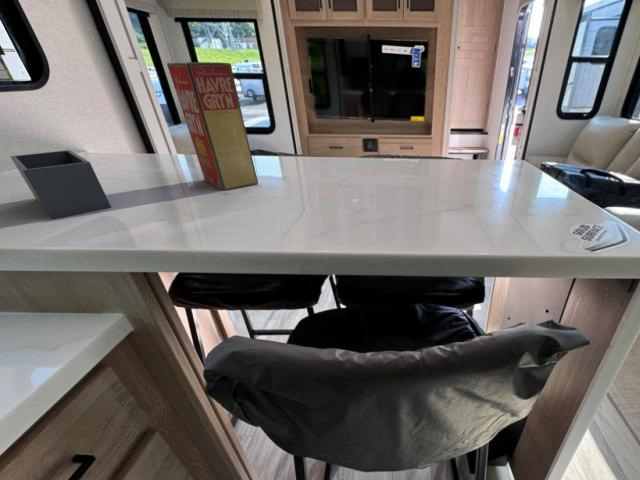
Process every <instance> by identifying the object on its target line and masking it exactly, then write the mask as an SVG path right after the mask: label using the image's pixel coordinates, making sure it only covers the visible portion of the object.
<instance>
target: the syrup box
mask: <svg viewBox="0 0 640 480" xmlns="http://www.w3.org/2000/svg"><path fill="white" fill-rule="evenodd" d="M0 46H1V47H2V49H3V51H4V53H5V55H0V82H27V81H28V82H29V81H32V78H31V76H30V74H29V73H28V71H27V69H26V67H25V65H24V63H23V61H22V60H21V58H20V56H19V54H18V52H17V50H16V48H15V46H14V44H13V42H12V40H11V38H10V36H9V34H8V32H7V31H6V29H5V26H4V25H3V22H2V21H1V19H0Z"/></svg>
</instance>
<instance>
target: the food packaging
mask: <svg viewBox="0 0 640 480" xmlns="http://www.w3.org/2000/svg"><path fill="white" fill-rule="evenodd" d="M166 66H167V68H168V71H169V74H170V77H171V81H172V84H173V88H174V90H175V93H176V96H177V99H178V101H179V102H178V103H179V105H180V108H181V111H182V114H183V118H184V120H185V123H186V126H187V129H188V133H189V135H190V138H191V142H192V145H193V148H194V150H195V153H196V157H197V160H198V163H199V167H200V170H201V174H202V176H203V181H205V182H207V183H209V184H210V185H212V186H214V187H217V188H218V189H219V190H222V191H225V192H226V191H229V190H235V189H239V188H240V189H241V188H246V187H250V186H254V185H259V180H258V176H257V172H256V168H255V164H254V160H253V156H252V152H251V151H252V150H251V147H250V143H249V139H248V138H249V137H248V134H247V129H246V126H245V122H244V121H245V120H244V118H243V117H244V116H243V114H242V108H241V104H240V100H239V94H238V90H237V86H236V82H235V77H234V74H233V69H232V68H233V67H232V64H231V63H230V62H220V61H219V62H218V61H215V62H212V61H211V62H210V61H206V62H205V61H203V62H202V61H187V62H182V61H181V62H167V63H166Z"/></svg>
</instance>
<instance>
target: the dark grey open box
mask: <svg viewBox="0 0 640 480" xmlns="http://www.w3.org/2000/svg"><path fill="white" fill-rule="evenodd" d="M10 158H11V161H12V162H13V164H14V165H15V167H16V169H17V170H18V171H19V173H20V175H21V177H22V179H23V180H24V181H25V184H26V185H27V187H28V188H29V190H30V192H31V193H32V195H33V197H34V198H35V200H36V201H37V202H38V204H39V205H40V207H41V208H42V209H43V210H44V212H45V213H47V215H48V217H49V218H50V219H51V220H56V219H60V218H65V217H69V216H75V215H80V214H84V213H89V212H94V211H100V210H104V209H110V208H112V205H111V203H110V201H109V199H108V198H107V195H106V192H105V190H104V189H103V187H102V184H101V183H100V181H99V179H98V177H97V174H96V172H95V170H94V168H93V166H92V164H91V162H90V161H88V160H87V159H85V158H84V157H82V156H80V155H79V154H77V153H75V152H74V151H72V150H70V149H67V150H57V151H48V152H37V153H28V154H17V155H10Z"/></svg>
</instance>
